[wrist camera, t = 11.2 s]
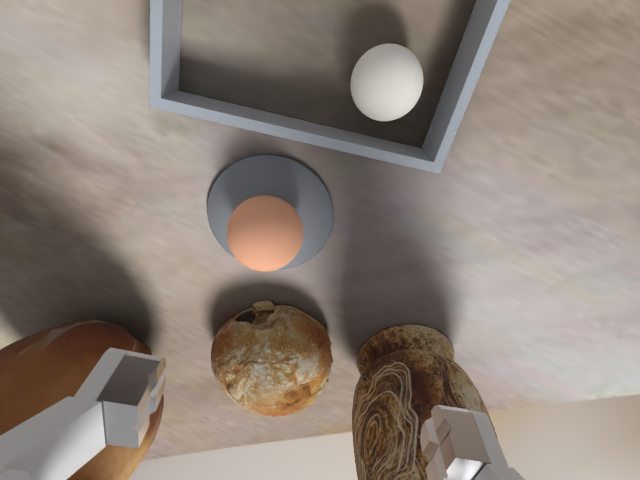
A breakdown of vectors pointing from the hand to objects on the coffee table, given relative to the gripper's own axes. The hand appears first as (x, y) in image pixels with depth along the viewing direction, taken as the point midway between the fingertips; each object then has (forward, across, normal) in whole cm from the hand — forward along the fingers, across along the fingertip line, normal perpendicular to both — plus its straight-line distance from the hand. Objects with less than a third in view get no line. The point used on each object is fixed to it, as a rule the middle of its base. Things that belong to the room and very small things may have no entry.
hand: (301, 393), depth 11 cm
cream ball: (+17, -2, -7) cm, 19 cm away
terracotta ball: (+16, +3, +3) cm, 17 cm away
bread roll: (+17, 0, +16) cm, 23 cm away
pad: (+17, +3, +3) cm, 17 cm away
